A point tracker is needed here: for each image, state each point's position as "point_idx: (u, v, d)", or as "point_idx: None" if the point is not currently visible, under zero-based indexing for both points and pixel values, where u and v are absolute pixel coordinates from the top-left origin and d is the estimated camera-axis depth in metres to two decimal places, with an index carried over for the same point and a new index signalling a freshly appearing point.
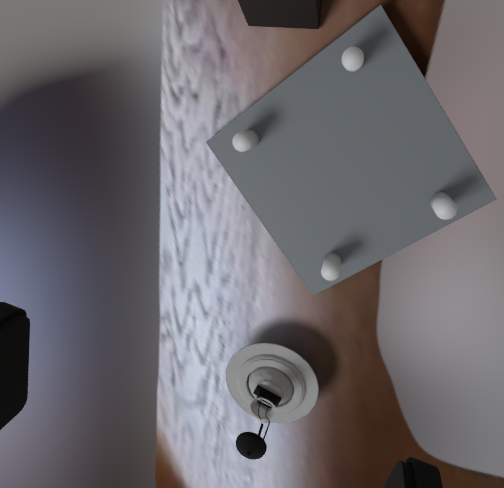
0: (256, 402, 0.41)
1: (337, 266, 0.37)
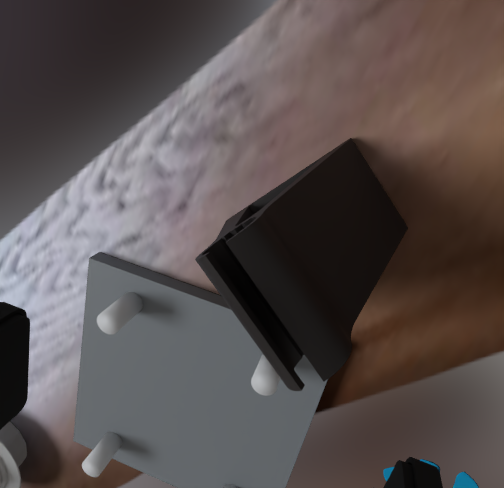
0: None
1: (101, 469, 0.32)
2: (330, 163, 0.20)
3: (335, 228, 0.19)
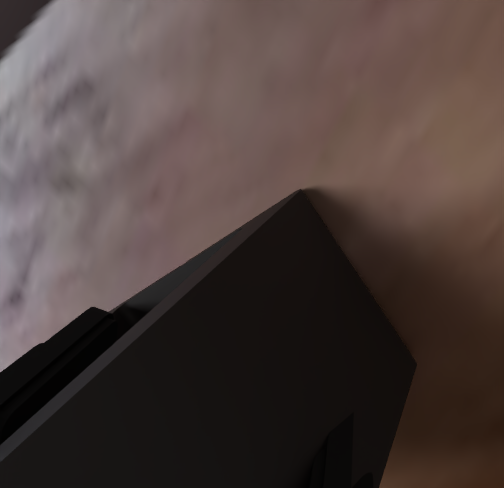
0: None
1: None
2: (240, 265, 0.09)
3: (236, 463, 0.07)
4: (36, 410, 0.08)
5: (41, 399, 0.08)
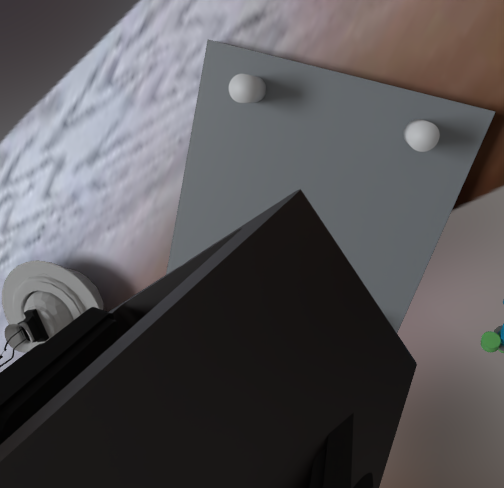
0: (17, 325, 0.33)
1: None
2: (240, 265, 0.08)
3: (236, 464, 0.07)
4: (36, 410, 0.08)
5: (41, 399, 0.08)
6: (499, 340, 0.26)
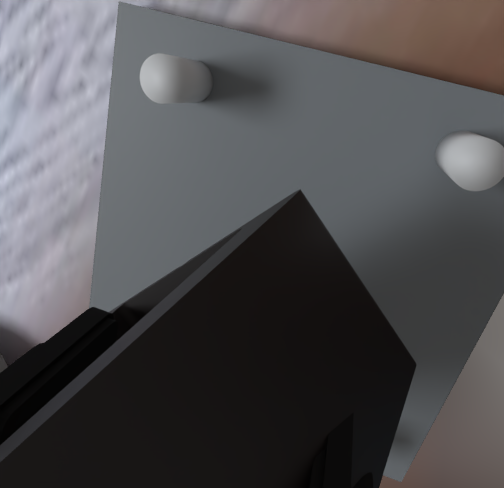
0: None
1: None
2: (239, 266, 0.08)
3: (236, 465, 0.07)
4: (36, 410, 0.08)
5: (41, 399, 0.08)
6: None
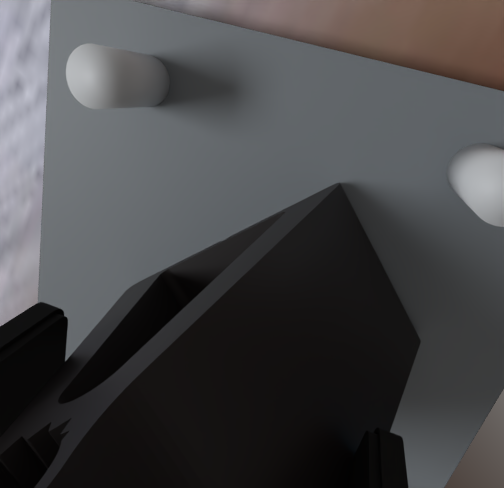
0: None
1: None
2: (296, 241, 0.10)
3: (293, 395, 0.09)
4: None
5: None
6: None
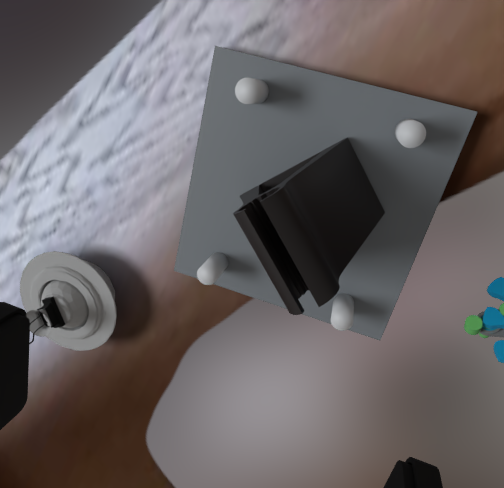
0: (36, 312, 0.35)
1: (217, 276, 0.32)
2: (331, 155, 0.26)
3: (332, 204, 0.24)
4: None
5: None
6: (481, 323, 0.28)
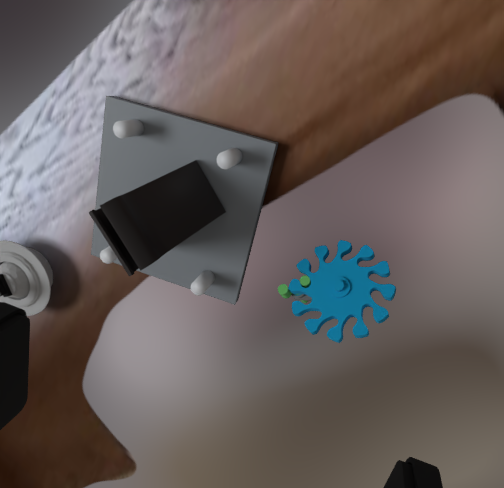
0: None
1: (114, 257, 0.45)
2: (175, 173, 0.39)
3: (169, 206, 0.37)
4: None
5: None
6: (287, 289, 0.41)
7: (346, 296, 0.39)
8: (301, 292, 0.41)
